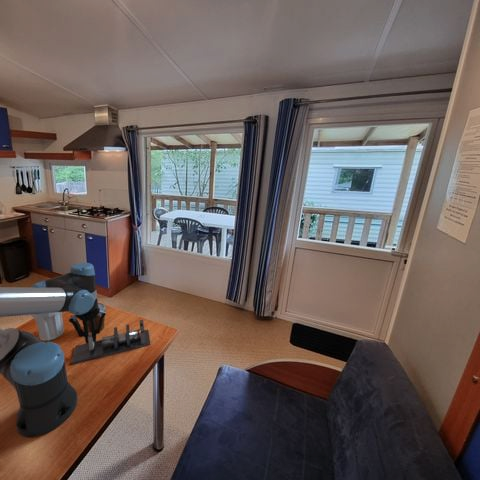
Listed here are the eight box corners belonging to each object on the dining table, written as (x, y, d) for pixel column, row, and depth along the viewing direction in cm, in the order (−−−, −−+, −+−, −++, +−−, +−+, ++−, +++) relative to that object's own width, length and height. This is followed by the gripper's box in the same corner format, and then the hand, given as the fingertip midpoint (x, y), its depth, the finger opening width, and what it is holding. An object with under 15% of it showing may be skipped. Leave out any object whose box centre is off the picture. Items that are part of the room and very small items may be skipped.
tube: (102, 349, 97) (101, 341, 96) (103, 342, 101) (102, 335, 100) (142, 340, 105) (141, 332, 103) (141, 334, 108) (141, 326, 107)
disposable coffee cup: (81, 330, 109) (77, 309, 106) (100, 320, 117) (97, 300, 114) (93, 337, 105) (90, 316, 102) (112, 326, 114) (110, 306, 110)
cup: (29, 342, 99) (21, 309, 94) (50, 326, 110) (44, 295, 105) (54, 344, 100) (48, 311, 95) (73, 327, 110) (68, 297, 105)
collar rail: (150, 344, 104) (149, 329, 102) (71, 364, 90) (68, 348, 88) (148, 331, 113) (147, 317, 110) (75, 347, 99) (73, 332, 97)
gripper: (105, 293, 97) (109, 338, 103) (68, 297, 91) (75, 345, 97) (104, 302, 90) (108, 349, 97) (64, 307, 84) (71, 358, 91)
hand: (91, 347), depth 97 cm, fingers closed
